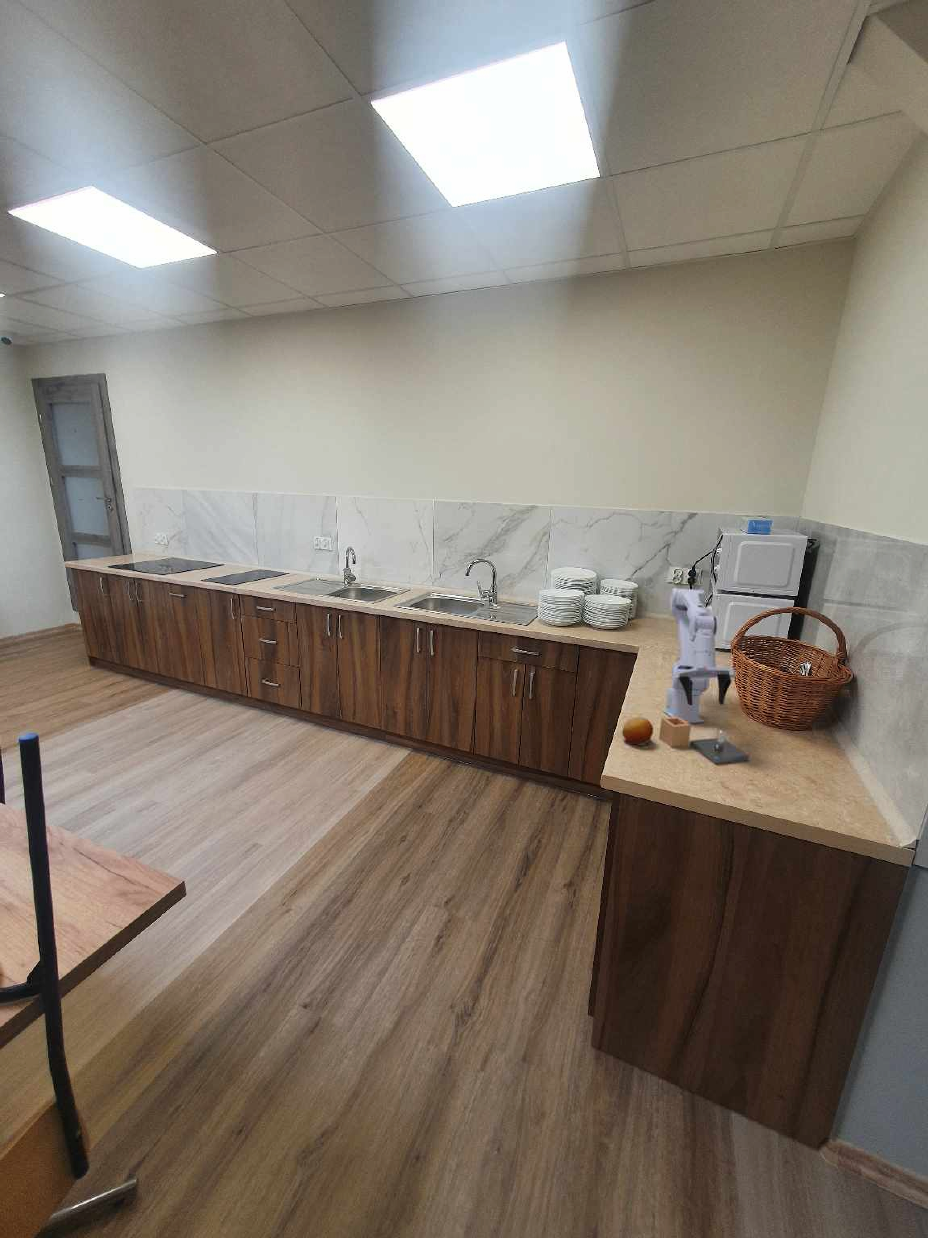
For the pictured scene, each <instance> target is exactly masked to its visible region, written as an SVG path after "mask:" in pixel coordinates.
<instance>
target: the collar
mask: <svg viewBox="0 0 928 1238" xmlns="http://www.w3.org/2000/svg"><path fill="white" fill-rule="evenodd" d="M691 727H692V724H691V723H687V722H686V721H684V720H683V719H681V718H680V717H670V716H669V717H661V721H660V728H659V735H658V738H659V739H660V740H661V741H663V743H665V744H666V745H668V746H669V747H670V748H672V747H673V748H674V747H683V746H689V743H690V733H691V729H692V728H691Z"/></svg>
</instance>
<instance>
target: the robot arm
mask: <svg viewBox="0 0 928 1238" xmlns="http://www.w3.org/2000/svg"><path fill="white" fill-rule="evenodd" d="M705 602H706V592H705V591H704V590H703V589H689V588H688V589H686V588H676V587H674V588H672V589H671V591H670V595H669V608H670V609H669V610H670V614H671V616H672V617H673V618H674V619H675V620H676V624H677V633H678V634H677V635H678V644H679V658H680V659H679V660H677V661H676V662H675V663H674V664H673V665H672V668H671V675H670V683H671V685H670V686H671V687H670V688H669V690H668V691H667V695H666V704H665V709H662V712H663V713H664V714H666V715H668V716H669V717H680V718H681V719H683V720H684V721H686V722H687V723H689V724H695V723H696V724H697V723H704V719H702V718H701V717H699V716H698V715H699V708H700V701H701V696H702V695H704V692H706V691H708V689H709V686H710V678H711V679H713V678H715V679H716V678H717V685H718V703H719V704H720V705H721V706H722V705H725V699H726V694H727V692H728V689H730V688H729V687H730V686H731V683H732V679H731V678H736V670H735V669H734V668H733V667H732V668H731V667H727V668H726V667H717V666H716V665H717V664H716V663H717V661H716V659H717V658H716V639H715V638H716V637H715V636H716V634H717V631H718V619H717V616H716V615H715V616H714V615H710V613H709V611H708V608H707V607H706V606H705Z"/></svg>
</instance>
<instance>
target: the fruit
mask: <svg viewBox="0 0 928 1238" xmlns="http://www.w3.org/2000/svg"><path fill="white" fill-rule="evenodd" d="M621 732H622V733H621V734H622V736H623V738H624V739H625V740H626V741H627V742H628V743H629V744H632V745H637V746H638V745H639V746H643V747H644V746H645V744H646V743H648V742H649V743H652V742H651V738H652V735H653V734H654V727H653V724H652V723H651V721H650V720H649V719H648V718H646V717H642V716H641V717H640V716H637V717H633V718H630V719H627V720H626V721H625V723H624V724H623V728H622V731H621Z"/></svg>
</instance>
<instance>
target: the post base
mask: <svg viewBox="0 0 928 1238" xmlns="http://www.w3.org/2000/svg"><path fill="white" fill-rule="evenodd" d="M689 746H690V747H691V748H692V749H694V750H695V751H696V752H698V753H699V755H702V756H703V757H705V758H706V759H707V760H709V761H710V762H711V763H713V764H714V765H720V764H721V765H722V764H730V763H731V764H732V763H738V762H748V761H749V758H750V755H749V754H747V753H746V752H745V751H744V750H741V749H740V748H739V747H737V746H735V745H734V744H733V743H731V742H730V741H727V740H726V731H724V730H722V729H720V730H718V731H717V732H716V736H715V737H713V738H706V739H693V740H689Z"/></svg>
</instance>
